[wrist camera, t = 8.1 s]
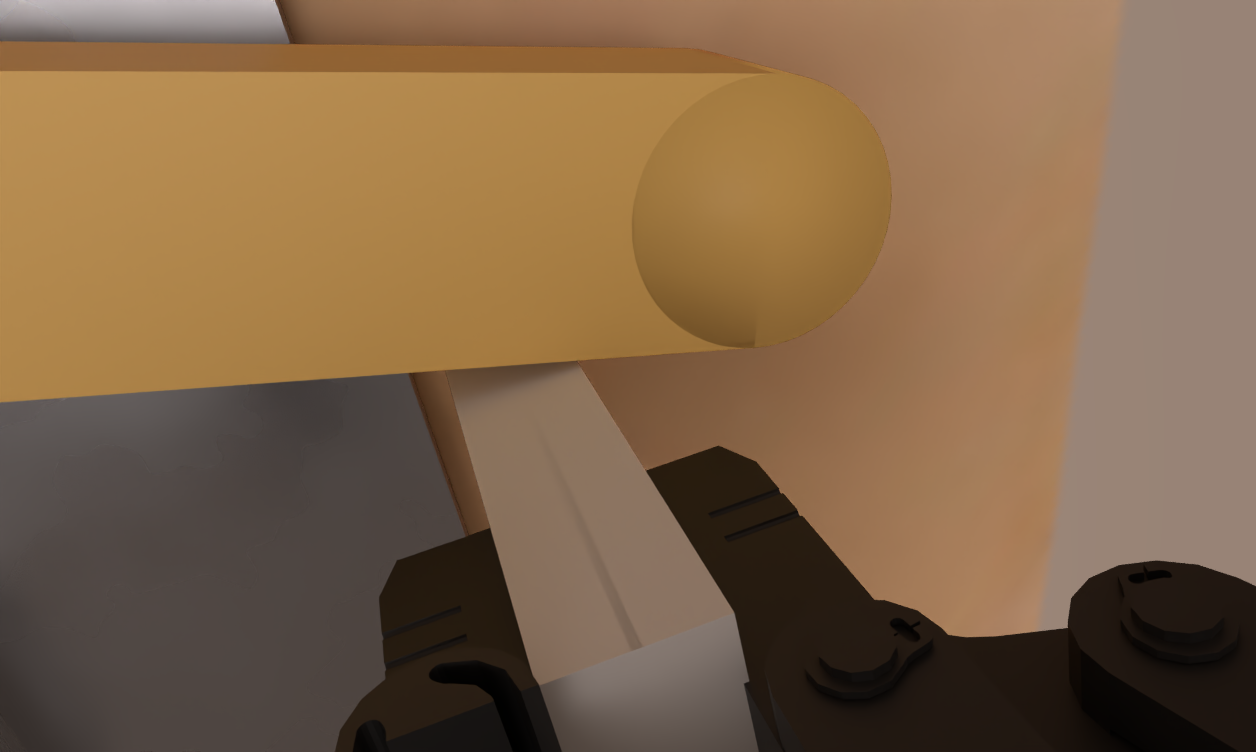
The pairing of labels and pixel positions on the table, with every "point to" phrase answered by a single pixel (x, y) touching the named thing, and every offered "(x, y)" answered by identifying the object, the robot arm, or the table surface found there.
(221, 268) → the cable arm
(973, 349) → the table surface
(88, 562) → the chassis plate
